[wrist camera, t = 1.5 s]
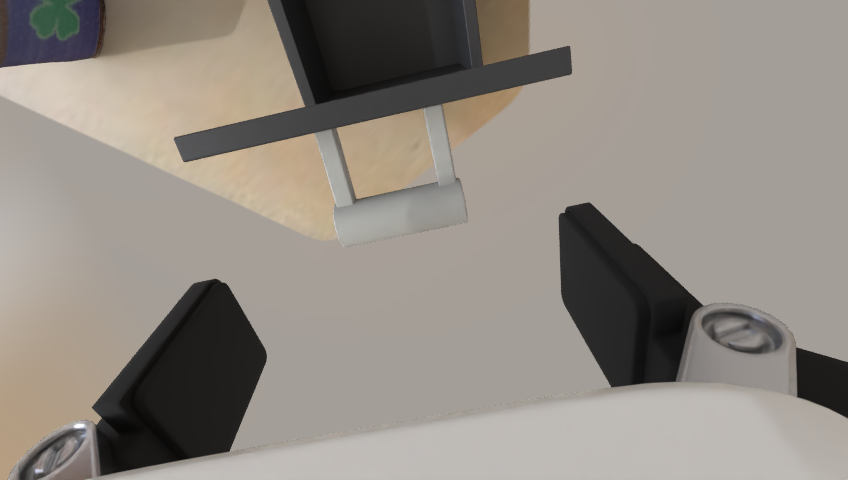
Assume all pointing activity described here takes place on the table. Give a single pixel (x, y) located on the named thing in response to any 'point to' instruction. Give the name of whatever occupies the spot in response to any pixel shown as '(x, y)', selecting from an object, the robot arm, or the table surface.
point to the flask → (50, 31)
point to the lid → (405, 206)
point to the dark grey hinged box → (374, 43)
